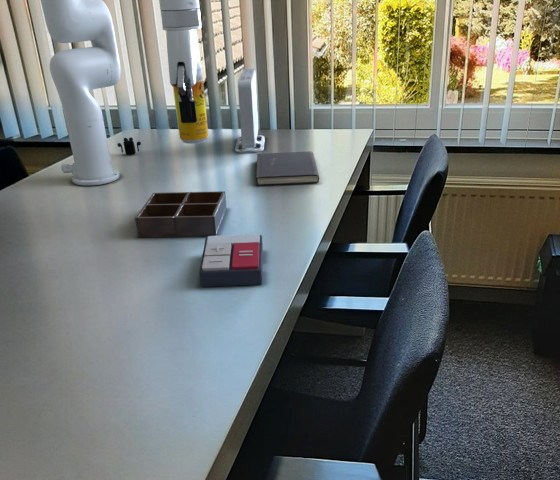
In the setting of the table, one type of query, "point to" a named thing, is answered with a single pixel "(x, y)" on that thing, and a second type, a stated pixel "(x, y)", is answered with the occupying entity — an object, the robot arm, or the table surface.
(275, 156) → the hardcover book
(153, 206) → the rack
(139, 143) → the wireless earbuds
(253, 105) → the network device
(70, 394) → the table surface
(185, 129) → the beer can
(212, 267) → the calculator
